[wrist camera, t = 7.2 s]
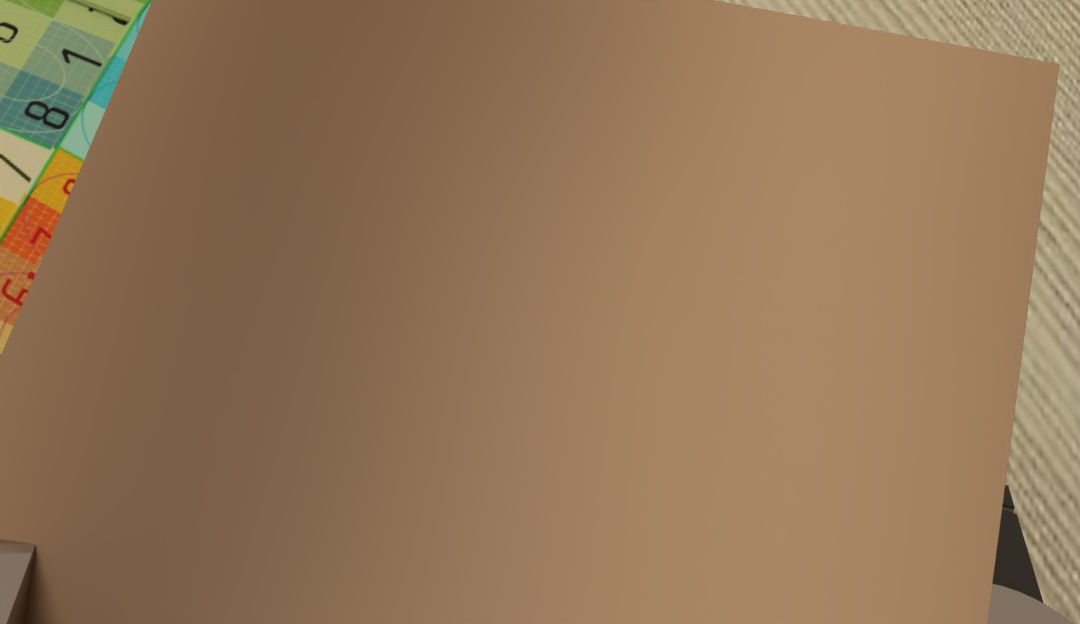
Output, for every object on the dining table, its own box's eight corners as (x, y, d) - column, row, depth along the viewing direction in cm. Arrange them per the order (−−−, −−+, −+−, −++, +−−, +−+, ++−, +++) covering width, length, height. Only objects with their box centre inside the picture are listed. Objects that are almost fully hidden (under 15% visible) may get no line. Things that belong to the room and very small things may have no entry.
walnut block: (779, 414, 15) (1060, 65, 6) (704, 797, 14) (920, 1155, 4) (435, 333, 16) (192, -97, 7) (328, 688, 15) (-186, 790, 5)
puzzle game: (290, 507, 23) (-400, 201, 26) (339, 528, 27) (-254, 264, 30) (500, 77, 26) (-140, -151, 29) (513, 159, 30) (-43, -45, 33)
